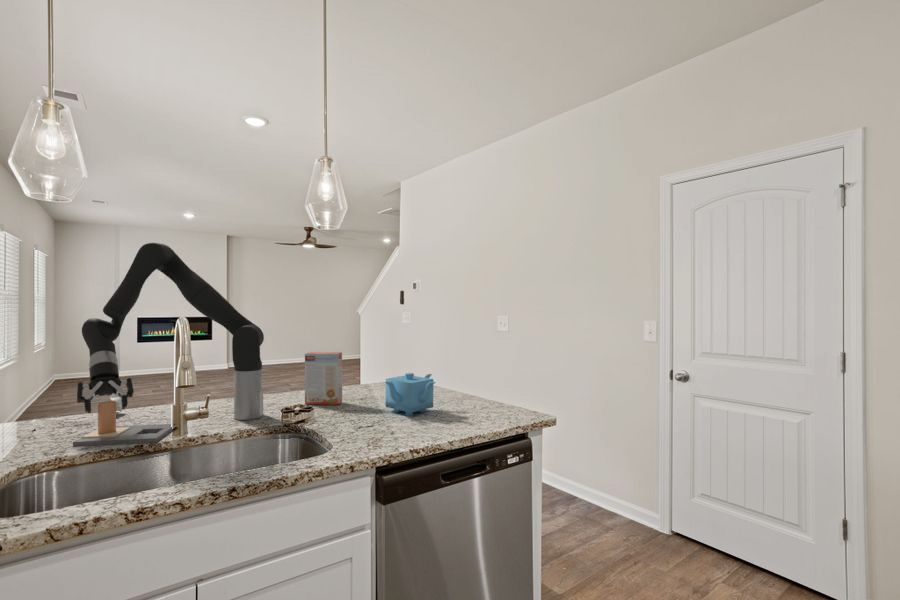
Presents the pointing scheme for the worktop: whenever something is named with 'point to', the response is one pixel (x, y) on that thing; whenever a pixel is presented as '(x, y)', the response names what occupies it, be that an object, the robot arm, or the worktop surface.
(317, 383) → the cracker box
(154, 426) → the pocket plate
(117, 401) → the elephant figurine
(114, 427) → the peg
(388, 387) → the teakettle
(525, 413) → the worktop surface
